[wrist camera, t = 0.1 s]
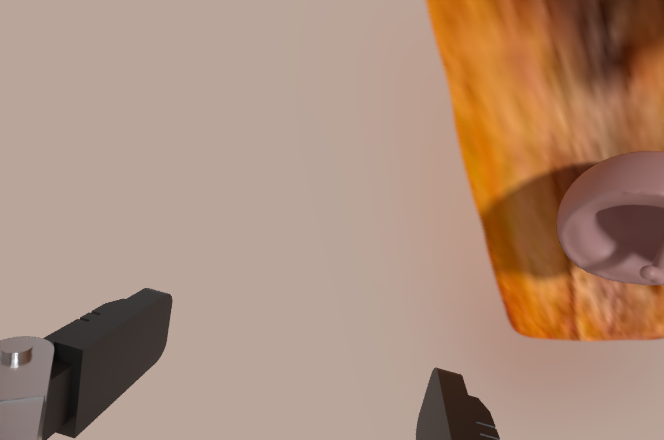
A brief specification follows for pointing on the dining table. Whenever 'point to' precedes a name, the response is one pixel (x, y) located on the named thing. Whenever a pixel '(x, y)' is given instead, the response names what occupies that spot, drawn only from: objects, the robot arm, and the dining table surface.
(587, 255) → the mortar and pestle
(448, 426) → the robot arm
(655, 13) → the dining table surface
